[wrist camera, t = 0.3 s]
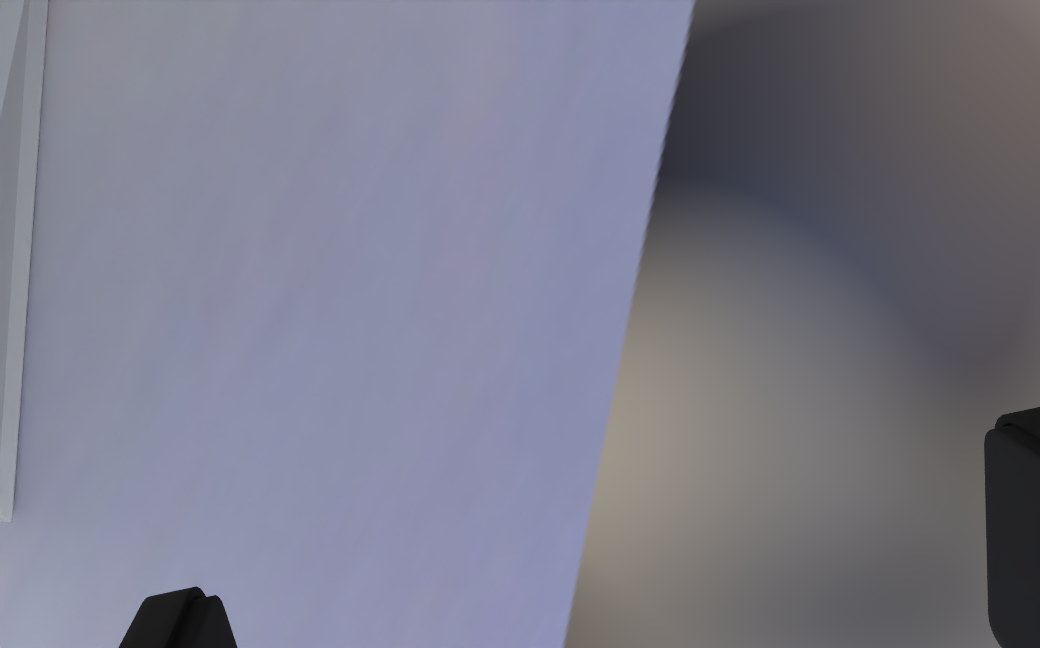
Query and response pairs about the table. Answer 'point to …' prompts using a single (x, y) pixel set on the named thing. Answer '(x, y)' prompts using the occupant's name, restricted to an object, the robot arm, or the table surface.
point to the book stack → (17, 209)
